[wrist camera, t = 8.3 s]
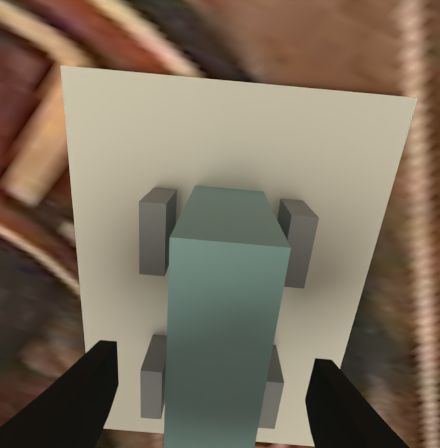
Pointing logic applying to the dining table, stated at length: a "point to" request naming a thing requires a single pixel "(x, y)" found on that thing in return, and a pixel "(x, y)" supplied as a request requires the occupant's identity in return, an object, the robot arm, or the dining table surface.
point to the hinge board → (233, 179)
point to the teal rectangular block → (221, 317)
